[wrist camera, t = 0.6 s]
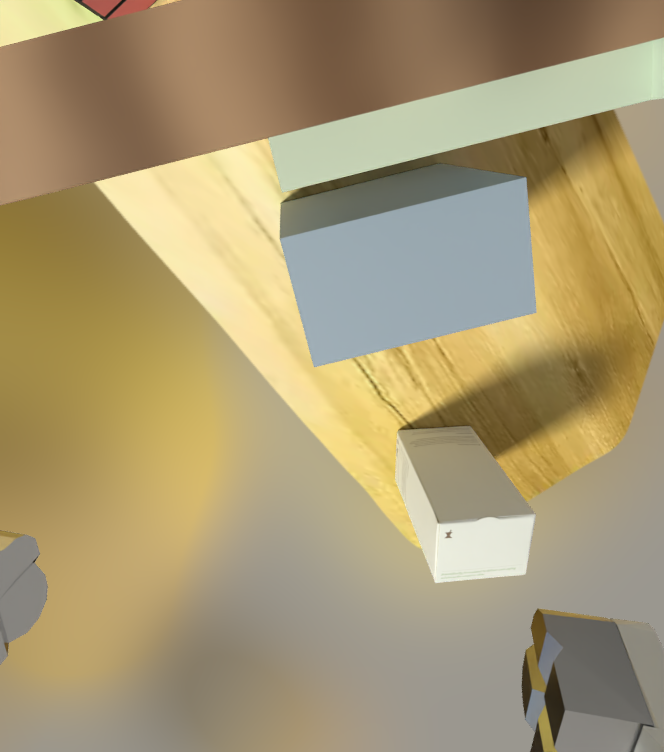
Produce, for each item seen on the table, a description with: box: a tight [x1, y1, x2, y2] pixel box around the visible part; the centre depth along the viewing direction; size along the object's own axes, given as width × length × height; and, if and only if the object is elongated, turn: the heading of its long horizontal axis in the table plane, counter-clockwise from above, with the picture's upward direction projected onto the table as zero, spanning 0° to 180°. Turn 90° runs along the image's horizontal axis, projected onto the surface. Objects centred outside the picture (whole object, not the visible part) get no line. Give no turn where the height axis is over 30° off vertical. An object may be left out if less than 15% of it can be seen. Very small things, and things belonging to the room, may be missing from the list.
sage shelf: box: [268, 38, 664, 192], centre depth 31 cm, size 16×8×28 cm, turn 103°
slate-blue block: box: [280, 163, 536, 367], centre depth 40 cm, size 14×8×18 cm, turn 103°
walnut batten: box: [0, 0, 664, 205], centre depth 18 cm, size 24×4×4 cm, turn 103°
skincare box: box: [395, 426, 536, 583], centre depth 51 cm, size 8×7×16 cm
